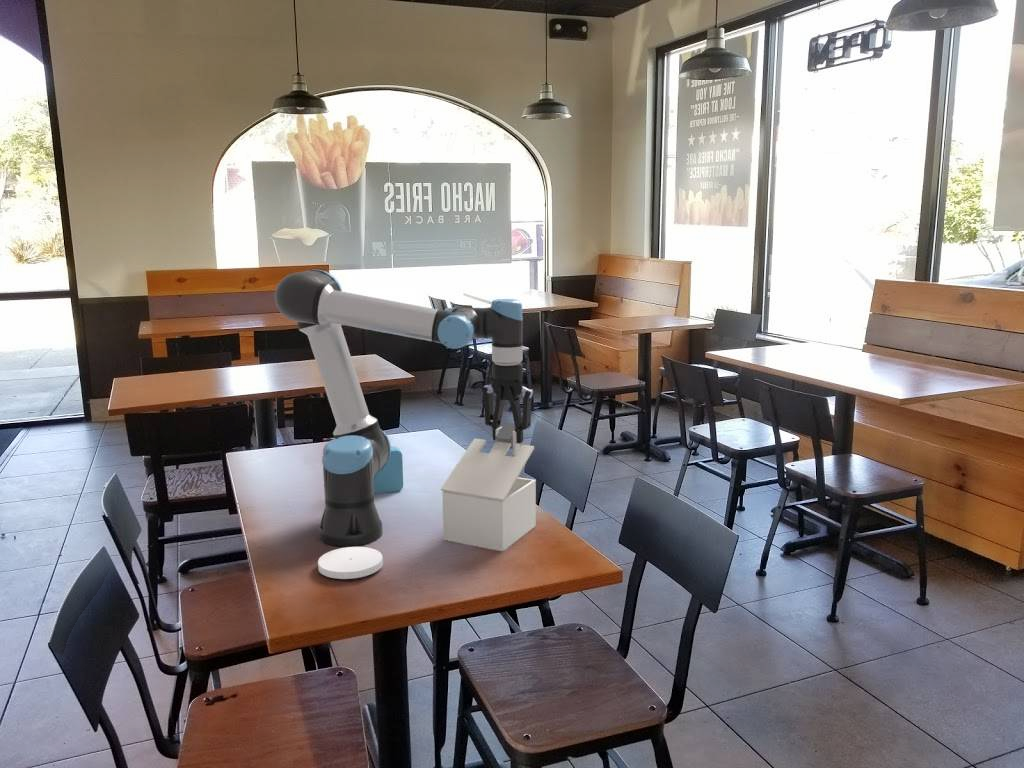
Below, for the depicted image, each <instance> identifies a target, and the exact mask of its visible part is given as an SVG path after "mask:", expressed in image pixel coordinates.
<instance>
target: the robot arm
mask: <svg viewBox="0 0 1024 768" xmlns="http://www.w3.org/2000/svg"><path fill="white" fill-rule="evenodd" d="M274 301H275V306H276V307H277V309H278V310H279V312H280V313H281V315H283V316H284V317H285V318H287V319H288V320H291V321H293V322H296V325H297V328H298V330H299V331H300V332H302V333H303V334H305V335H306V336H307V337H308V338H307V339H308V340H309V344H310V348H311V351H312V354H313V356H314V359H315V362H316V364H317V368H318V371H319V375H320V378H321V381H322V384H323V387H324V390H325V394H326V396H327V400H328V403H329V405H330V408H331V412H332V414H333V417H334V420H335V425H336V426H335V428H334V429H333V432H332V435H333V437H334V438H332V439H331V440H329V441H328V442H326V444H325V445H324V446H323V449H322V458H321V463H322V469H323V470H322V471H323V473H322V475H323V489H324V490H323V491H324V505H325V506H324V509H323V513H322V517H321V520H320V525H319V527H318V532H319V533H318V537H319V540H320V541H321V542H323V543H325V544H328V545H331V546H336V545H337V547H355V546H360V545H366V544H368V543H371V542H374V541H376V540H378V539H379V538H380V537H381V536H382V535H383V523H382V520H381V519H380V515H379V513H378V509H377V507H376V505H375V493H374V487H373V478H374V477H375V476H376V475H377V473H378V472H379V471H381V470H382V469H383V468H384V467H385V465H386V463H387V462H388V460H389V457H390V453H391V447H392V446H391V441H390V439H389V436H388V435H387V433H386V432H385V431H384V430H382V429H381V428H380V427H381V426H380V424H379V421H378V419H377V418H376V417H374V416H373V415H371V414H370V412H369V409H368V405H367V403H366V400H365V397H364V394H363V390H362V388H361V384H360V381H359V378H358V375H357V372H356V369H355V368H356V367H355V365H354V362H353V360H352V356H351V353H350V349H349V346H348V343H347V340H346V336H345V335H344V330H343V328H342V326H347V327H354V328H358V329H363V330H370V331H374V332H379V333H380V332H381V333H385V334H390V335H391V334H392V335H397V336H402V337H406V338H411V339H417V340H425V341H428V342H434V343H438V344H442V345H444V346H445V347H446V348H449V349H452V350H453V349H460V348H464V347H465V346H467V345H468V344H469V343H470V342H471V341H472V340H473V339H484V340H485V339H487V340H488V339H491V361H492V365H491V370H492V371H491V376H492V381H491V383H490V384H486V385H484V386H482V387H481V391H482V394H483V398H484V399H483V400H484V401H483V402H484V403H483V404H484V423H485V425H486V426H490V427H491V429H492V440H493V441H495V442H496V436H497V434H498V433H499V431H500V430H501V428H502V427H503V426H502V423H501V422H502V418H503V411H504V406H505V403H506V400H507V401H508V402H509V405H510V408H511V413H512V419H513V423H514V424H515V430H514V431H513V448H512V457H515V455H516V454H517V452H518V450H519V449H520V447H521V444H522V443H523V442H524V430H527V429H529V428H530V427H531V423H532V422H531V420H532V398H533V395H534V392H535V390H534V389H532V388H530V389H529V388H527V387H526V386H525V384H524V382H523V377H524V376H523V375H524V374H523V373H524V371H523V370H524V368H523V367H524V366H523V363H522V362H523V358H524V357H523V353H524V352H523V345H524V344H523V342H524V341H523V339H524V337H523V335H524V334H523V333H524V330H523V328H524V327H523V325H524V318H523V305H522V302H521V301H520V300H519V299H515V298H497V299H493V300H492V301H491V305H490V307H489V306H488V307H460V306H456V307H446V308H445V309H444V310H442V309H438V308H437V309H436V308H432V307H426V306H420V305H415V304H411V303H410V304H409V303H404V302H399V301H396V300H395V301H394V300H388V299H383V298H379V297H372V296H368V295H362V294H357V293H352V292H346V291H343V290H342V287H341V284H340V282H339V280H338V279H337V278H336V277H335V276H334V275H332V274H331V273H329V271H325V270H321V269H315V268H312V269H306V270H304V271H299V272H297V271H296V272H294V273H290V274H288V275H286V276H284V277H283V278H281V280H280V281H278V284H277V285H276V288H275V291H274ZM493 392H494V393H495V395H496V396H495V406H494V396H493ZM521 393H522V408H521V404H520V402H521V399H520V395H521Z"/></svg>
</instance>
